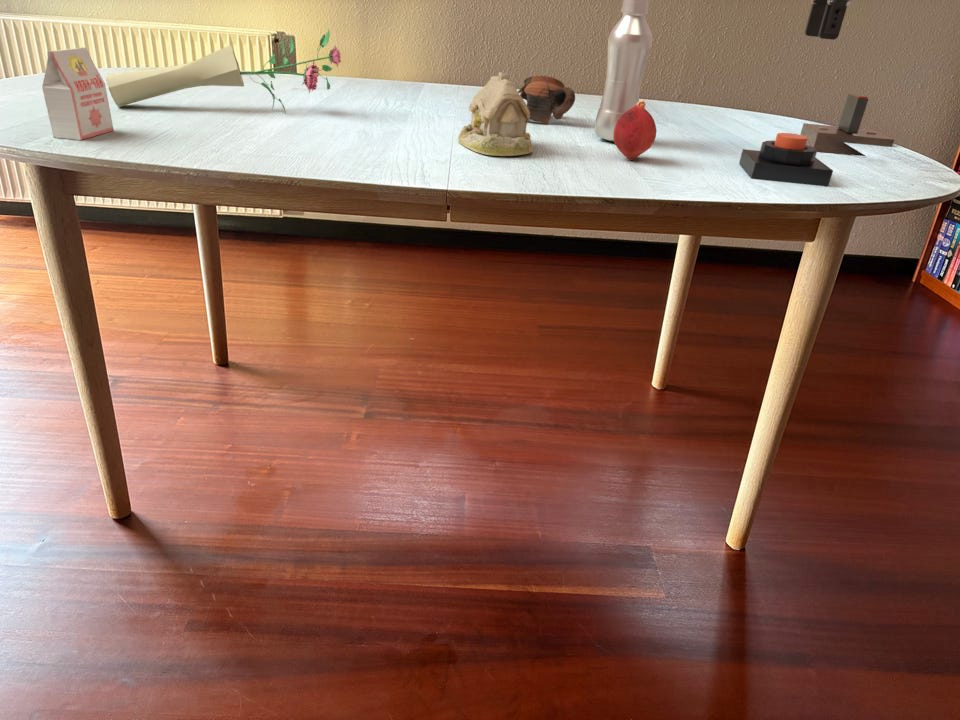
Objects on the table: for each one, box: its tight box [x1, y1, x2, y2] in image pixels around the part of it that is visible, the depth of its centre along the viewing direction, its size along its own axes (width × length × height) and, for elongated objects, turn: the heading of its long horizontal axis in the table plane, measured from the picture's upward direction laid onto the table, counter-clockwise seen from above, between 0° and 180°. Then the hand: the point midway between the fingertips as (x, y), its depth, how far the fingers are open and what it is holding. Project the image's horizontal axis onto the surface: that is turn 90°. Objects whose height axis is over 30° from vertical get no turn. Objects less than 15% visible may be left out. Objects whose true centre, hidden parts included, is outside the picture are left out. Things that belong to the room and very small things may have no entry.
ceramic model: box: [457, 71, 534, 157], centre depth 97 cm, size 14×11×10 cm
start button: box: [774, 132, 808, 150], centre depth 93 cm, size 4×4×2 cm
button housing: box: [738, 140, 834, 188], centre depth 94 cm, size 10×9×4 cm
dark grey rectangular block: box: [837, 93, 869, 134], centre depth 114 cm, size 5×2×6 cm, turn 172°
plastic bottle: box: [594, 0, 654, 143], centre depth 104 cm, size 6×7×20 cm
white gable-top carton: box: [41, 47, 114, 141], centre depth 86 cm, size 4×7×10 cm, turn 172°
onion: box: [613, 100, 657, 161], centre depth 95 cm, size 6×6×8 cm
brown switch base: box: [799, 122, 895, 157], centre depth 116 cm, size 12×9×3 cm
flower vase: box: [105, 29, 342, 115], centre depth 108 cm, size 12×12×35 cm
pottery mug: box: [517, 75, 576, 125], centre depth 120 cm, size 12×10×8 cm
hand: (820, 36), depth 87 cm, fingers open, 5 cm apart
